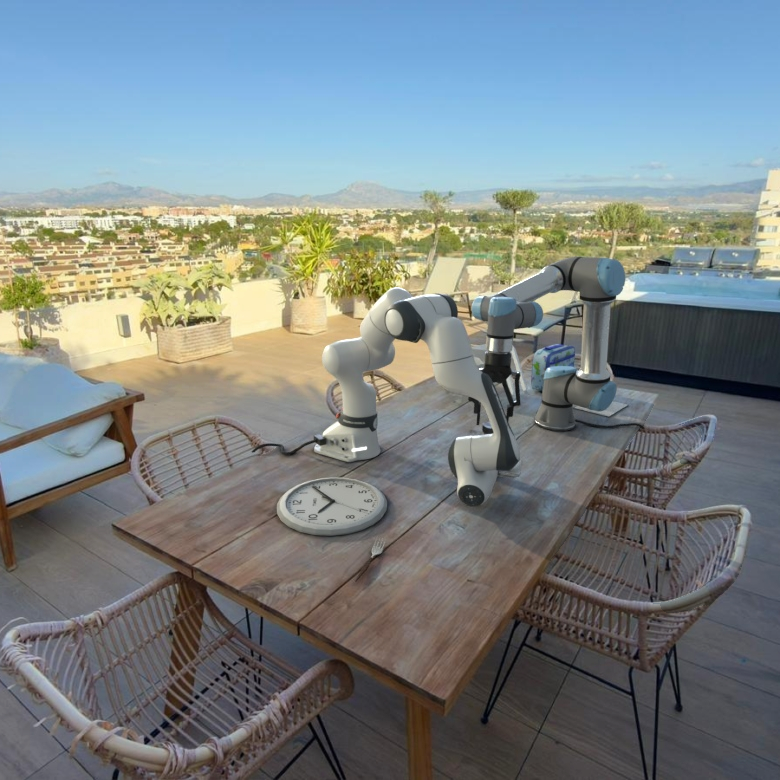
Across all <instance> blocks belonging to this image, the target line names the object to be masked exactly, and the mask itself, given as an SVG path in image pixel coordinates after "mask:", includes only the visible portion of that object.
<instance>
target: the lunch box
mask: <svg viewBox="0 0 780 780" xmlns="http://www.w3.org/2000/svg"><path fill="white" fill-rule="evenodd" d="M575 357H576V349H575V346H572V345H565V344H560V343H555V344H552V345H547V346H545V347H542V348H539V349H537V350H536V351H535V353H534V355H533V358H532V363H531V364H532V365H531V376H530V377H531V378H530V387H531V389H532V390H536V391H539V392H540V391H541V392H542V391H543V382H544V379H543V378H544V374H545V371H546V369H547V368H550V367H554V366H572V367H575V360H576V358H575Z"/></svg>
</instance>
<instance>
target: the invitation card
mask: <svg viewBox="0 0 780 780" xmlns="http://www.w3.org/2000/svg"><path fill="white" fill-rule="evenodd" d="M628 406H629V404H627V403H623V402H618V401H614V400H613V401H612V403H611V404H610V406H609V407H608V408H607V409H606V410H604V411H600V412H599V411H595V410H589V409H587V408H584V407H580V406H577V405H575V406H574V407H573V409H575V410H581V411H584V412H587V413H593V414H596V415H600V416H604V417H608V418H609V417H611V416H613V415H614V414H616V413H617V412H619V411H621V410H623V409H624V408H626V407H628Z"/></svg>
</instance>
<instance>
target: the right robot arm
mask: <svg viewBox="0 0 780 780" xmlns="http://www.w3.org/2000/svg"><path fill="white" fill-rule="evenodd" d="M625 285H626V271H625V268H624V266H623V264H622V263H621V261H619V260H618V259H615V258H609V257H597V256H595V257H593V256H571V257H567V258H563V259H561V260H558V261H555V262H553V263H550V264H548V265H546V266H544V267H543V268H542V269H541V270H540V271H539V273H537V274H534V275H532V276H530V277H528V278H526V279H524V280H522V281H520V282H518V283H516V284H514V285H512V286H510V287H508V288H505V289H503V290H502V291H499V292H498V293H494V295H490V296H486V295H484V296H483V295H479V296H477V297H475V298H474V300H473V302H472V304H471V307H470V309H471V315H472V317H474V319H476V320H478V321H482V322H487V329H486V330H487V331H486V338H485V339H486V340H485V344H486V350H488V351H486V352H485V363H484V367H483V368H481V369H480V370H481V371H482V372H483V373H485V374H488V375H489V377H490V378H491V380H492V382H493V384H495V383H496V384H501V386H502V387H503V390H504V393H505V396H506V398H507V402H508V404H507V406H506V412H505V414H506V417H507V420H508V422H509V421H510V418H513V416H514V412H515V411H514V410H515V407H519V406H521V403H522V402H521V389H520V376H521V374H520V372H519V371H517V370H516V371H514V370H512V368H511V367H512V359H511V356H512V354H511V353H510V352H511V351H512V345H513V344H514V333H515V330H521V329H530V328H532V327H536V326H538V325H540V324H541V322H542V321H543V318H544V310H543V308H542V305H541V304H540V303H538V302H537V301H536V300H538V299H540V298H542V297H544V296H547V295H548V294H556V293H558V292H561V291H570V292H578V293H579V298H578V299H579V301H580V302H581V303H582V305H583V309H582V312H583V313H582V331H581V333H582V334H581V349H580V350H581V351H580V353H581V355H580V368H579V369H578V368H577V367H576V366H574V367H572V366H554V367H550V368H547V369H546V371H545V374H544V378H543V379H544V382H543V391H541V392H542V394H541V402H540V405H539V407H538V410H537V411H536V413H535V417H534V424H535V425H536V426H537V427H539V428H542V429H544V430H549V431H556V432H567V431H572V430H574V429H575V428H576V423H577V424H582V425H585V426H589V427H594V428H599V429H600V428H601V429H614V428H620V427H632V426H633V427H634V426H635V427H639V428H640V429H641V430H645V429H646V428H645V426H643V424H641V423H637V422H628V423H617V424H612V425H607V424H605V425H603V424H596V423H591V422H587V421H583V420H580V419H576V418H575V417H576V416H575V413H574V407H573V405H574V406H580V407H584V408H587V409H589V410H595V411H599V412H600V411H604V410H606V409H607V408H608V407H609V406H610V404H611V403H612V401H614V400H615V398H616V394H617V389H618V387H617V384H616V382H615V381H613V380H611V372H610V371H609V370H607V365H608V350H609V338H610V337H609V335H610V321H611V309H612V308H611V307H612V303H614V302H615V301H616V300H617V296H619V295H620V294H621V293H622V292H623V290H624V287H625ZM513 346H514V345H513ZM510 375H511V377H512V380H514V388H515V393H516V399H515V400H514V397H513V395H512V394H511V392H510V389H509V387H508V384H507V380H506V379H507V378H508V377H509V376H510ZM467 400H468V402H472V403H473V414H475V415H476V426H480V422H481V421H480V420H481V409H482V408H481V407H482V403H481V402H479V401H478V400H476V399H474V398H472V397H468V399H467Z"/></svg>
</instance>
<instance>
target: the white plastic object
mask: <svg viewBox="0 0 780 780" xmlns="http://www.w3.org/2000/svg"><path fill="white" fill-rule="evenodd" d="M471 348H472V352H473V357H474V360H475V363H476V365H477V366H478V368H479V369H481V368H483V367H484V363H485V352H486V351H488V350H486V343H483V344H479V345H473V346H471ZM510 353H511V354H512V356H511V360H513V363H514V366H515V369H516V372H517V371H519V372H520V374H521V376H520V379H519V383H520V385H521V389H522V391H523V393H524V395H525V396H526V397H528V396H531V395H530V390H529V388H528V387H529V386H528V384H527V381H526V378H525V375H524V371H523V369H522V368H523V367H522V366H521V362H520V359H519V355H518V352H517V349H516V347H515V346H514V345H512V351H511V352H510ZM506 380H507V384H508V387H509V389H510V392H511V395H512V397H513V398H514V399H515V400H516V393H515V384H514V381H513V377H512V375H510V376H509V377H508V378H507V379H506Z"/></svg>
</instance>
